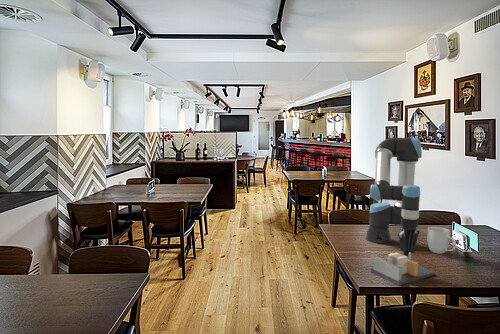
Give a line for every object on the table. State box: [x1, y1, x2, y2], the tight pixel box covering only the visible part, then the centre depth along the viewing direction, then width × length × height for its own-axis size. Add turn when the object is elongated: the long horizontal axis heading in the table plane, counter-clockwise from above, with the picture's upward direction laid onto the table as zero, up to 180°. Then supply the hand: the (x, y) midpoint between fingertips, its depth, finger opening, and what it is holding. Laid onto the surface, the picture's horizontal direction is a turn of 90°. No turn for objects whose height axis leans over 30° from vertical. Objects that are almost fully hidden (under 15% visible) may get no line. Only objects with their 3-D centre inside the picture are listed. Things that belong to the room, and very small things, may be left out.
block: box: [387, 252, 408, 274], centre depth 152 cm, size 6×6×8 cm
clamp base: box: [370, 256, 436, 287], centre depth 153 cm, size 16×25×8 cm, turn 117°
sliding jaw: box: [389, 252, 419, 276], centre depth 153 cm, size 14×2×6 cm, turn 27°
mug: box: [426, 226, 457, 255], centre depth 180 cm, size 15×11×13 cm
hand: (407, 265), depth 155 cm, fingers closed
